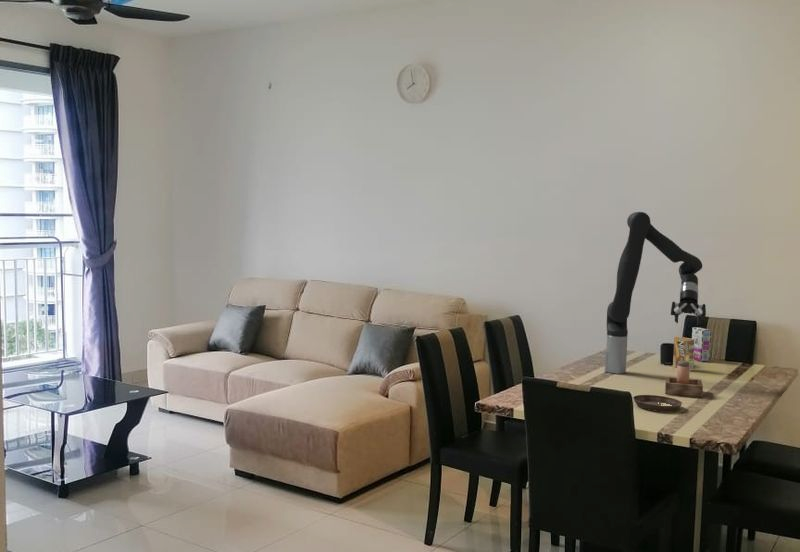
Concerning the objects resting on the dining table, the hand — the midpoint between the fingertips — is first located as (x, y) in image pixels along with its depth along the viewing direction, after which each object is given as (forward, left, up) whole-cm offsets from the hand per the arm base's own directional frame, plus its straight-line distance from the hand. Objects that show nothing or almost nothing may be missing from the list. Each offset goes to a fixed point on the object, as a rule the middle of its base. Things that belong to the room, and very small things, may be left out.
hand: (687, 322), depth 327 cm
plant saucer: (-11, -48, -28) cm, 56 cm away
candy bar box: (+9, +70, -27) cm, 76 cm away
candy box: (0, +38, -27) cm, 47 cm away
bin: (-1, -17, -27) cm, 32 cm away
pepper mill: (-1, -17, -26) cm, 31 cm away
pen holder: (-6, +49, -27) cm, 56 cm away
